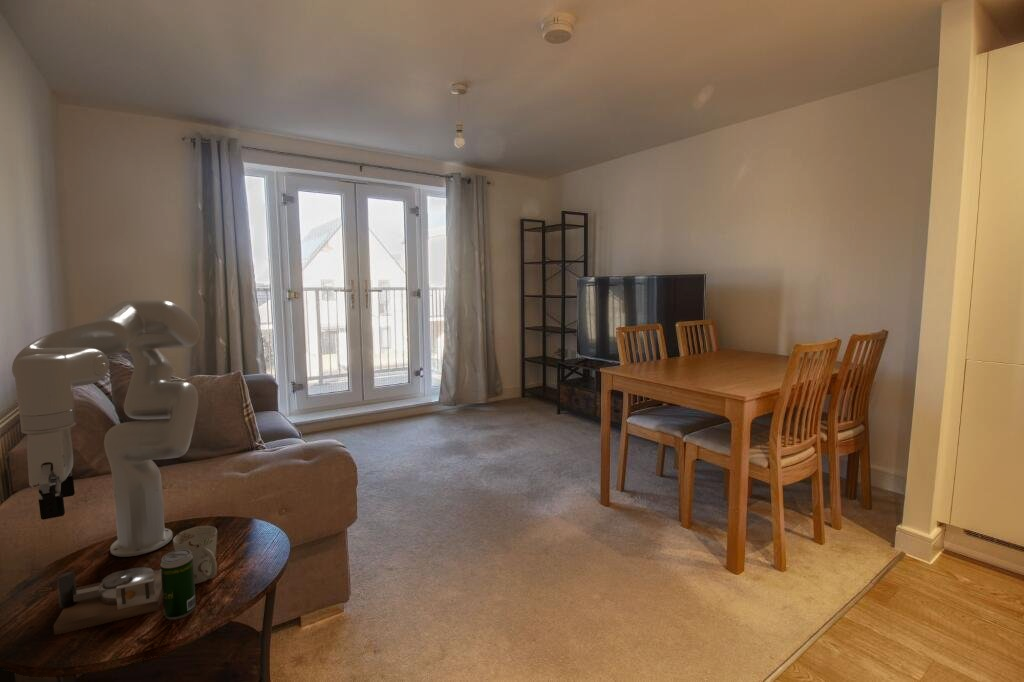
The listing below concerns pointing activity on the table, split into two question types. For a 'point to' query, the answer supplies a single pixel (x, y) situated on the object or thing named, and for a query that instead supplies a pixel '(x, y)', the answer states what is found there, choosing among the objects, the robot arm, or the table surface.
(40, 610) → the table surface
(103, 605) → the levelling stand
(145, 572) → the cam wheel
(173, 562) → the beer can
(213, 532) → the mug
